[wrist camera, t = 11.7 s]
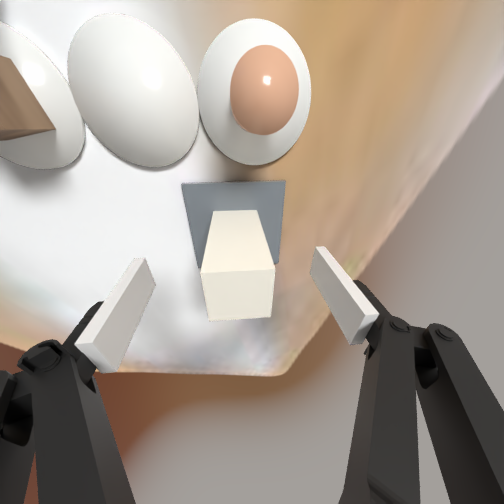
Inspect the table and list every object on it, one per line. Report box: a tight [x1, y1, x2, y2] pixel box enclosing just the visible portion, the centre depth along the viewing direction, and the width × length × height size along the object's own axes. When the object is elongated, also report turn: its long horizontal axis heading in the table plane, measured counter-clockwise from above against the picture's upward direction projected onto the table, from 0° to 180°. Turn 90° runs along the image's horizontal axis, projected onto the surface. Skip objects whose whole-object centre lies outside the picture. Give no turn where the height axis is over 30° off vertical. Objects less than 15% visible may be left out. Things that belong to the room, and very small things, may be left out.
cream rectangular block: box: [200, 210, 275, 321], centre depth 17 cm, size 5×5×10 cm
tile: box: [181, 180, 286, 268], centre depth 21 cm, size 10×10×1 cm
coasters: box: [0, 13, 311, 170], centre depth 15 cm, size 27×9×1 cm, turn 90°
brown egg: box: [230, 45, 299, 135], centre depth 13 cm, size 4×4×5 cm
